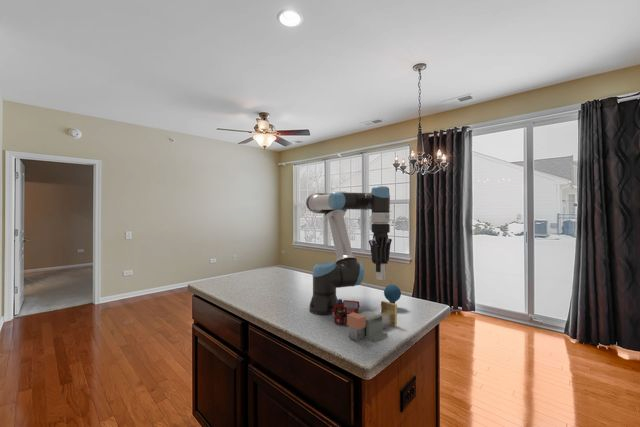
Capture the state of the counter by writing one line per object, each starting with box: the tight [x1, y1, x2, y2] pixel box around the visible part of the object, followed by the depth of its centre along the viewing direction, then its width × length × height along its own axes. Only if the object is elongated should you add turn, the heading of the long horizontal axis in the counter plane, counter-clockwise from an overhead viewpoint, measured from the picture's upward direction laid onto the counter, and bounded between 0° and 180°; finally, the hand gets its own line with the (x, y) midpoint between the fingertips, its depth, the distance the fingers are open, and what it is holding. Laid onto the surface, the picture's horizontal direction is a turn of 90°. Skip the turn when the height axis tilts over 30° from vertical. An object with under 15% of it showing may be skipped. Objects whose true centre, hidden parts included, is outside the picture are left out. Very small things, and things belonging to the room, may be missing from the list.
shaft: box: [348, 300, 398, 342], centre depth 116 cm, size 24×7×9 cm, turn 131°
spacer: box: [346, 312, 366, 330], centre depth 109 cm, size 4×6×4 cm, turn 41°
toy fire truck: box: [331, 298, 360, 327], centre depth 125 cm, size 7×12×10 cm, turn 66°
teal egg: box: [383, 284, 402, 304], centre depth 144 cm, size 8×8×12 cm
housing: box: [359, 310, 388, 342], centre depth 114 cm, size 8×13×7 cm, turn 41°
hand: (380, 279), depth 119 cm, fingers closed
